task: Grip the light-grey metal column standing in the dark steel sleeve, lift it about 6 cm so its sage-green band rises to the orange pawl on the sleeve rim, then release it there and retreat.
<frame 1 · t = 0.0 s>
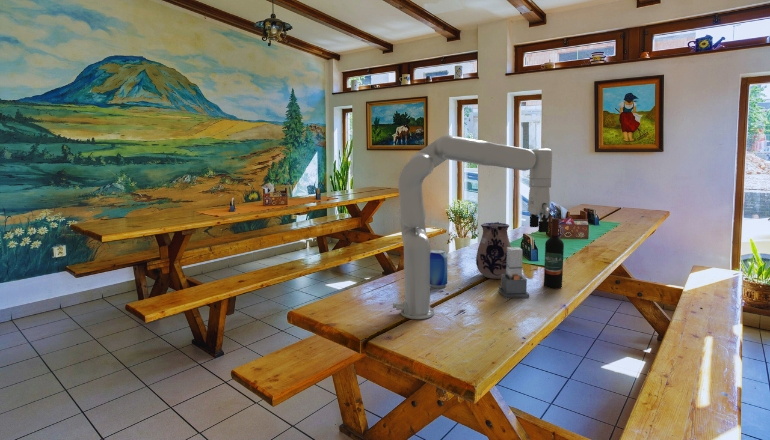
hand: (538, 229, 170), 31 cm above the table, fingers open, 9 cm apart
column: (514, 269, 192), point 11 cm above the table, slide at 0.0 cm
beer can: (437, 286, 207), on the table
stand base: (513, 293, 194), on the table
ceramic pitcher: (494, 275, 220), on the table
wine bottle: (552, 286, 203), on the table
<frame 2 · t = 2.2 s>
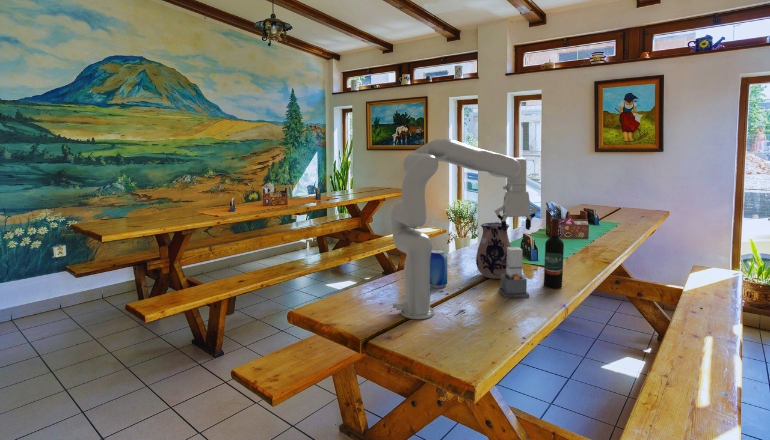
hand: (515, 229, 189), 27 cm above the table, fingers open, 9 cm apart
nothing on the table moved.
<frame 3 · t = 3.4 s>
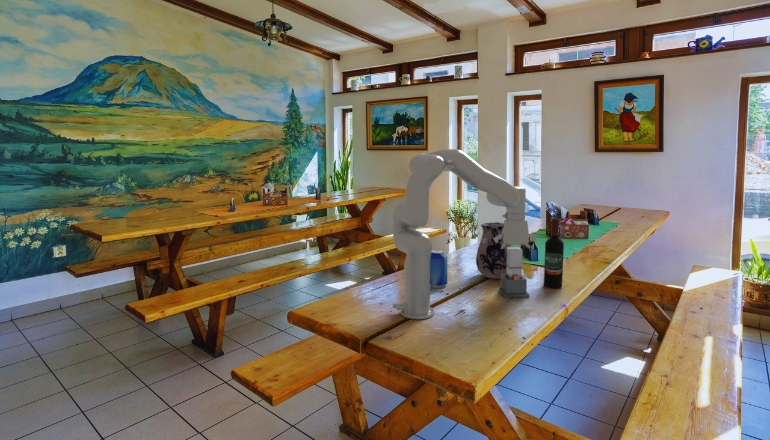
hand: (514, 257, 191), 16 cm above the table, fingers open, 9 cm apart
nothing on the table moved.
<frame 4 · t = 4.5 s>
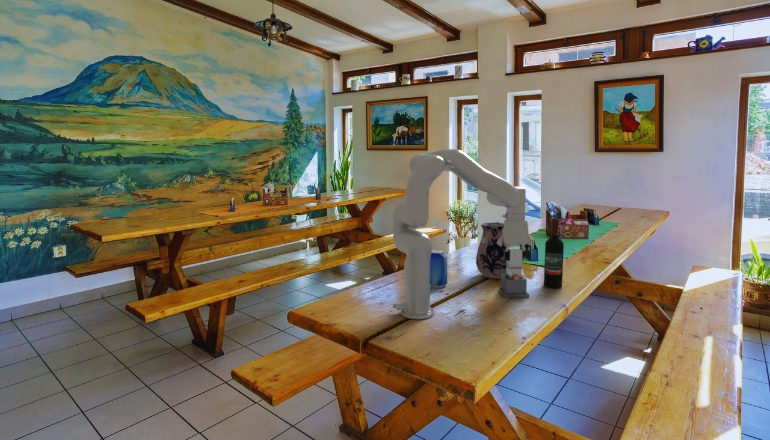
hand: (514, 259, 191), 15 cm above the table, fingers closed on column, 5 cm apart
column: (514, 269, 192), point 11 cm above the table, slide at 0.0 cm, touching gripper
everything else where it was.
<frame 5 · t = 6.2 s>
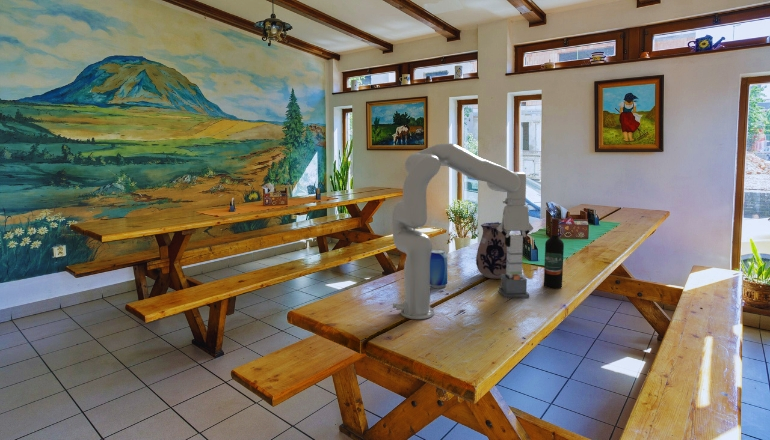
hand: (514, 245, 190), 21 cm above the table, fingers closed on column, 5 cm apart
column: (514, 255, 191), point 16 cm above the table, slide at 5.9 cm, touching gripper
everything else where it was.
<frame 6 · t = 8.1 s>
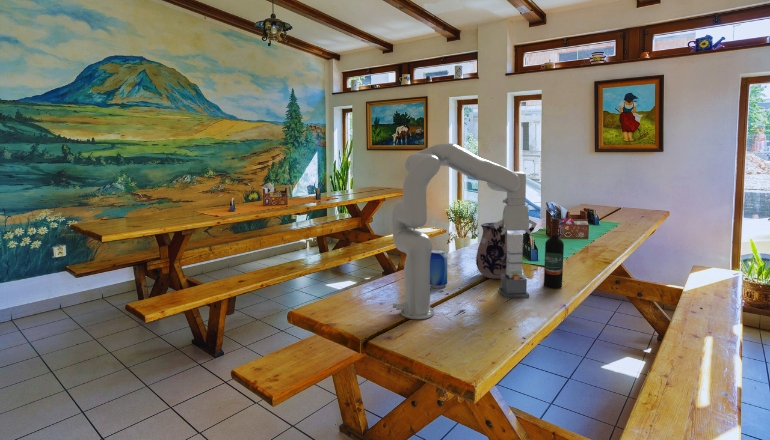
hand: (514, 243, 190), 22 cm above the table, fingers open, 9 cm apart
column: (514, 255, 191), point 17 cm above the table, slide at 6.0 cm
everything else where it was.
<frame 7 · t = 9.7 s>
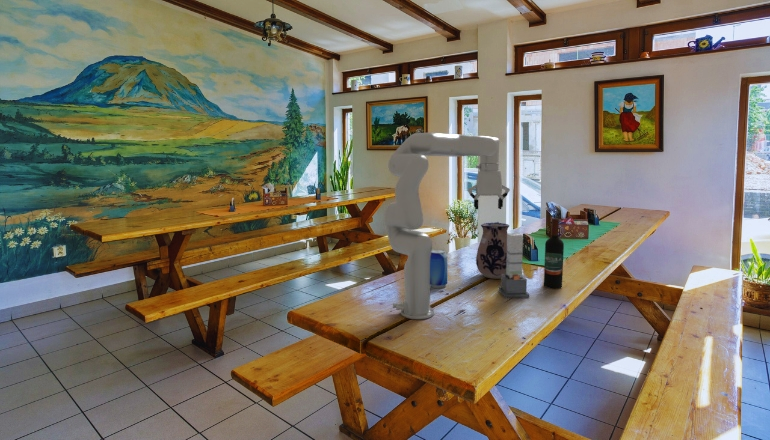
hand: (488, 208, 193), 36 cm above the table, fingers open, 9 cm apart
nothing on the table moved.
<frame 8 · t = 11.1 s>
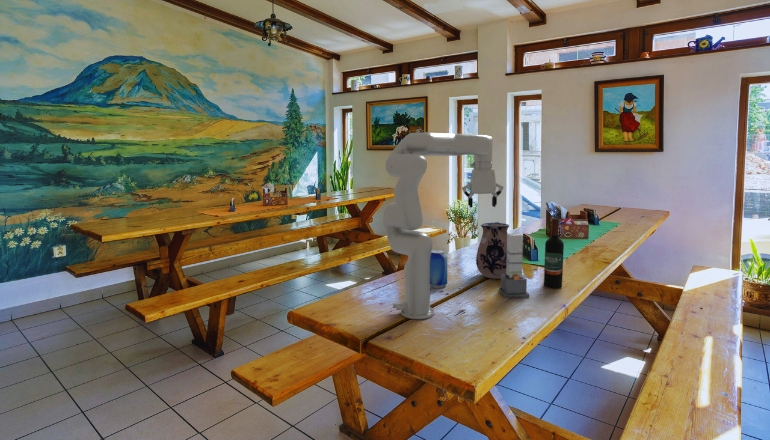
hand: (482, 206, 194), 36 cm above the table, fingers open, 9 cm apart
nothing on the table moved.
at the end: column slide at 6.0 cm; the gripper is holding nothing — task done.
